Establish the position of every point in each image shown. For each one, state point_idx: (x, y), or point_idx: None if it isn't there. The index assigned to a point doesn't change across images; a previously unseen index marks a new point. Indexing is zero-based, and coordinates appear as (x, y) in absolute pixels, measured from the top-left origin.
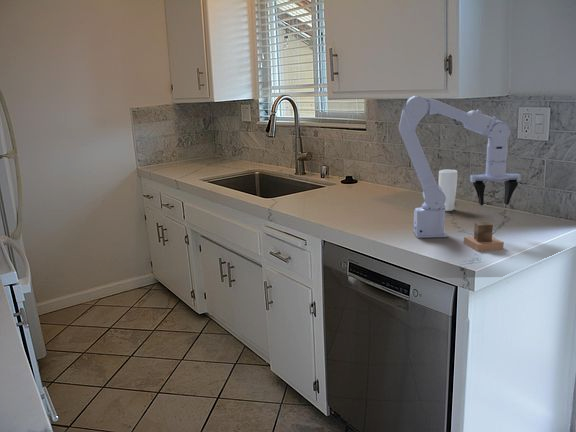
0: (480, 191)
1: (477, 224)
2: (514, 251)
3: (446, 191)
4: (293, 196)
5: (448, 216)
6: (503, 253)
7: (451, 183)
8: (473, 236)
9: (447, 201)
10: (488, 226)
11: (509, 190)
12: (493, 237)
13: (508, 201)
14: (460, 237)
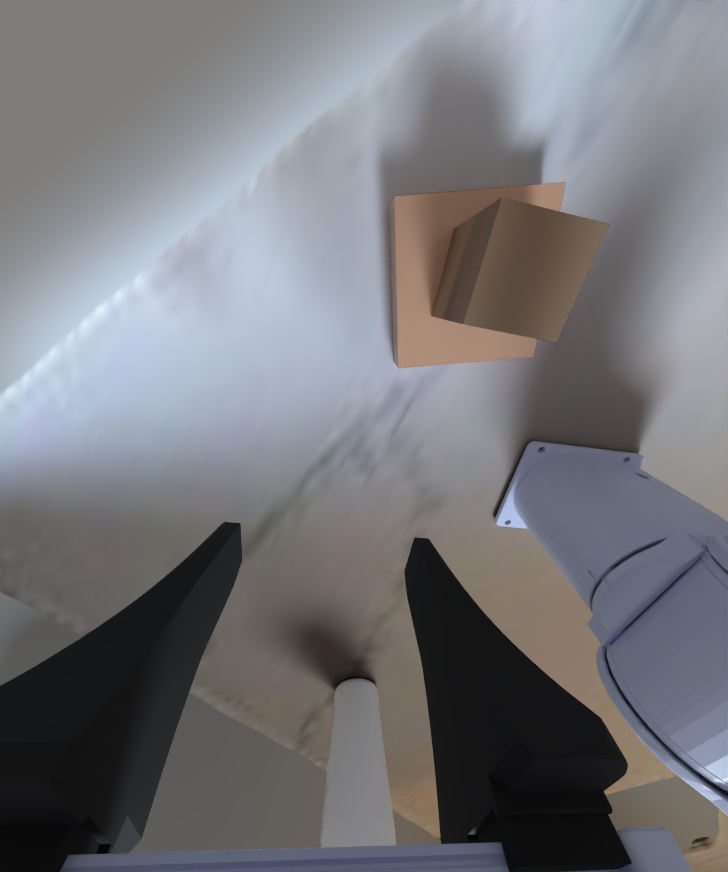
0: (504, 646)
1: (594, 256)
2: (352, 134)
3: (372, 769)
4: (640, 781)
5: (382, 641)
6: (432, 106)
7: (356, 820)
8: (485, 356)
9: (364, 718)
10: (527, 209)
11: (155, 633)
12: (401, 313)
13: (216, 536)
14: (478, 433)
